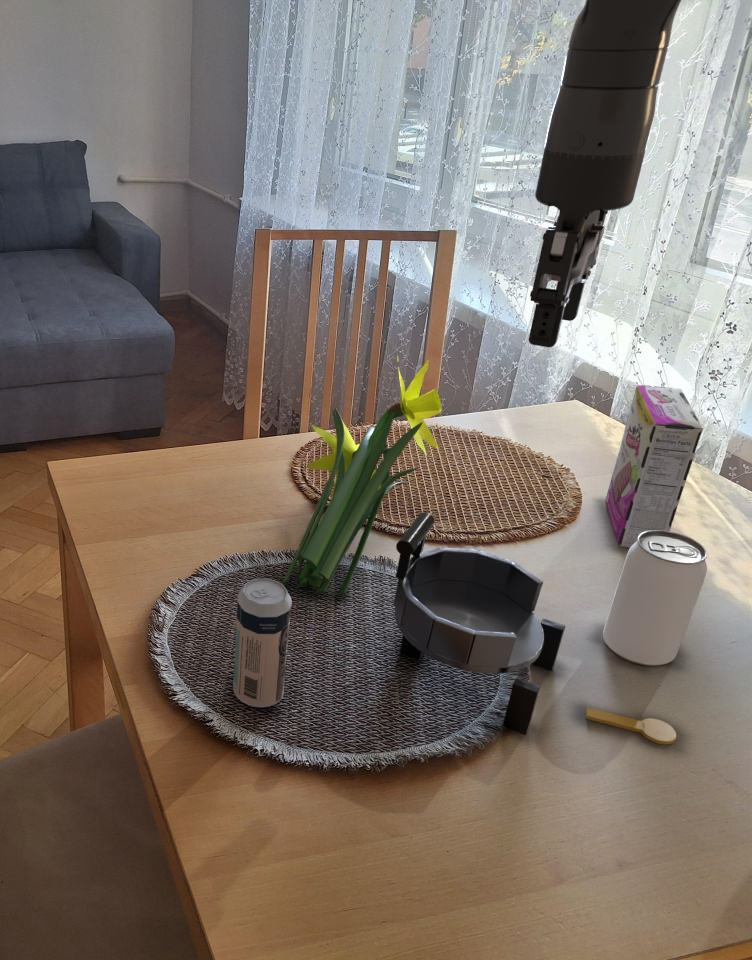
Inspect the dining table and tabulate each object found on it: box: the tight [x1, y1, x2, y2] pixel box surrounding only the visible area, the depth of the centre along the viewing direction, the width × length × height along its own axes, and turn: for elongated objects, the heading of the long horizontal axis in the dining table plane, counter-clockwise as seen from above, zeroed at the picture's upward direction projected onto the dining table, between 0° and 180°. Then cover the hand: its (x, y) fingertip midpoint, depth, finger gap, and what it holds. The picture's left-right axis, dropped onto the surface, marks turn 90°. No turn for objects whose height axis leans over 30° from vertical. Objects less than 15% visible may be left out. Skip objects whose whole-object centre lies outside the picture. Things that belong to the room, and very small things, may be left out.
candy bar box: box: [604, 384, 704, 550], centre depth 101 cm, size 11×5×16 cm, turn 161°
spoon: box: [585, 707, 678, 745], centre depth 76 cm, size 7×3×1 cm, turn 65°
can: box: [602, 530, 708, 667], centre depth 83 cm, size 6×6×12 cm
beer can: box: [232, 578, 293, 708], centre depth 79 cm, size 5×5×12 cm
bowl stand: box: [399, 618, 566, 736], centre depth 82 cm, size 13×11×5 cm
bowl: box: [393, 511, 544, 675], centre depth 79 cm, size 14×13×9 cm
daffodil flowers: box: [281, 355, 443, 598], centre depth 104 cm, size 17×15×35 cm
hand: (552, 331), depth 79 cm, fingers open, 8 cm apart
